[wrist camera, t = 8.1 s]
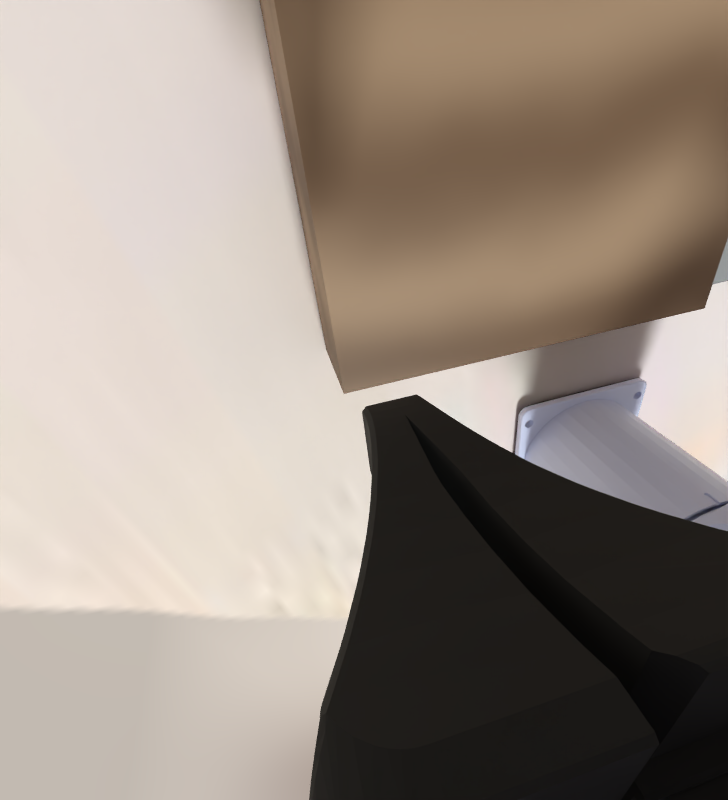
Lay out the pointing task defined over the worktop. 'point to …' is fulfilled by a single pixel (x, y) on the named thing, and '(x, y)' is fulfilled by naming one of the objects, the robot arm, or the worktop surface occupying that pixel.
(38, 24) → the worktop surface
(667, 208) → the brown flat block
